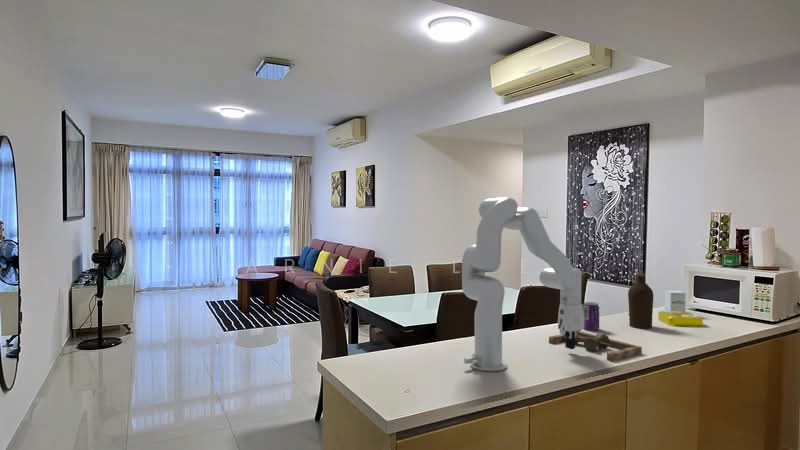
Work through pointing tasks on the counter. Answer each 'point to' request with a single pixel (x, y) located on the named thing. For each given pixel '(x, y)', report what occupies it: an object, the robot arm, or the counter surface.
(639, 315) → the olive oil
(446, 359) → the counter surface
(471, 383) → the counter surface
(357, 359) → the counter surface
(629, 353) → the walnut bay
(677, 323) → the element tile
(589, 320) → the beverage can
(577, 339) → the kendama
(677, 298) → the supplement box
